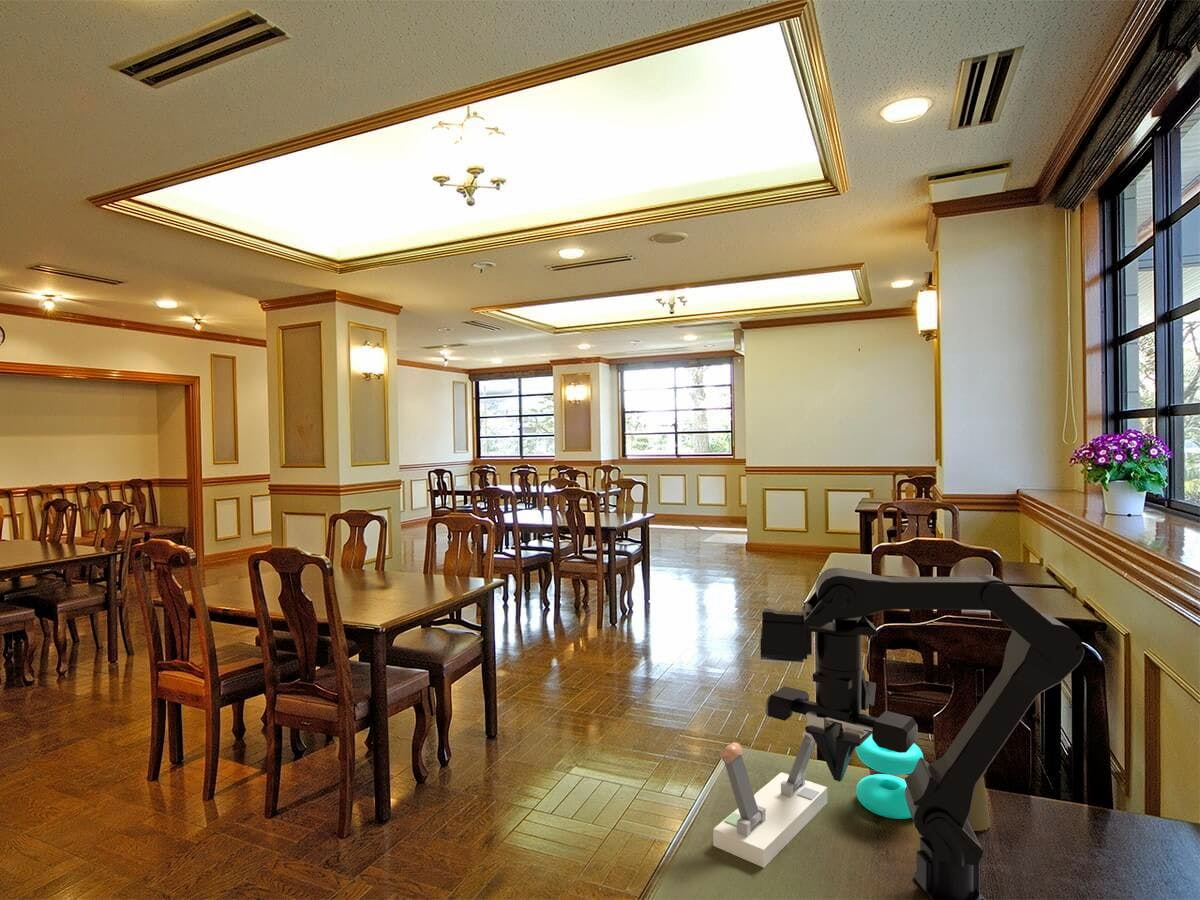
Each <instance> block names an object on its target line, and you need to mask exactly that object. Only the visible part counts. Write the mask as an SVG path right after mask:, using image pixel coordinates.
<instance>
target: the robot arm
mask: <svg viewBox="0 0 1200 900" xmlns="http://www.w3.org/2000/svg"><path fill="white" fill-rule="evenodd" d="M814 589H815V592H813V594H812V595H811V596H810V597H809V598H808V600H807V601H806V602H805V603H804V605H803V606H802V607H801V611H789V610H777V609H774V608H763V609H762V613H761V616H762V617H761V622H762V623H761V628H760V660H761V661H772V662H773V661H774V662H775V661H776V662H787V663H788V662H789V663H801V664H803V663H804V660H808V656H809V657H810V656H811V657H812V655H813V654H812V651H813V649H812V646H813V645H812V643H813V640H812V639H813V635H812V633H816V637H815V638H816V643H815V645H816V646H815V647H816V665H815V666H816V671H815V672H813V673H812V682H815V683H816V684H815V685H816V689H815V690H816V695H815V696H816V701H812V700H810V695H809V693H808V692H807V691H806V690H802V689H798V688H793V687H790V686H785V685H784V686H782V687H781V688H779V689H777V690H776V691H774V692H773V693H771V694H769V696H768V697H767V699H766V700H765V701H766V702H765V715H766V716H767V717H771V718H773V719H777V720H781V721H787V720H788V719H789V718H791V717H792V716H793V712H794V713H797V714H800V715H804V716H806V717H807V726H805V727H804V731H805V732H806V733H809V734H811V735H812V737H813V738H814V740H815V742H816V744H815V745H816V746H817V747H818V749H819V750H820V752H821V754H822V756H823V759H824V761H825V763H826V766H827V767H828V769H829V771H830V774H831V776H832V778H833V781H835V782H839V783H840V782H841V781H842V780H843V779H844V777H845V774H846V772H847V769H848V767H849V763H850V761H851V759H852V755H853V753H854V751H855V750H856V746H860V745H861V744H862V743H863V742H864V741H865V740H866V739H867V738H868V737H869V736H870V735H871V734H872V739H873V741H874V742H875V743H876V744H877V746H878V747H881V748H884V749H888V750H892V751H895V752H899V753H906V752H907V751H908V750H909V748H910V747H911V746H912V745H913V744H916V742H917V740H918V739H919V726H918V724H917V721H916V720H915V718H914V717H913V716H908V715H904V714H901V713H897V712H892V711H888V710H885V711H883V713H882V714H880V716H879V717H875V716H872V715H869V714H864V713H862V711H867V710H868V709H869V707H870V706H872V707H874V706H875V700H876V699H875V697H876V691H877V689H876V688H877V683H876V682H872V681H868V680H866V674H865V670H864V669H862V636H870V637H872V636H873V637H876V636H878V630H877V629H876V626H875V625H874V623H872V622H871V621H870V620H868V619H867V617H869V616H871V615H874V614H875V615H876V614H878V613H881V612H884V611H885V612H887V611H891V610H920V611H921V610H927V611H928V610H931V611H933V610H935V611H936V610H942V611H943V610H944V611H949V610H952V611H957V610H958V611H960V610H961V611H989V612H991V613H992V614H993V615H994V616H996V618H998V619H999V620H1000V621H1001V622H1002V623H1003V624H1004V625H1006V626H1007V627H1008V628H1009V629H1011V634H1010V635H1009V638H1008V640H1007V643H1006V647H1005V652H1004V657H1003V663H1002V667H1001V669H1000V671H999V673H998V674H997V676H996V677H995V679H994V680H993V682H992V683H991V685H990V687H988V689H987V691H986V692H985V694H984V695H983V697H982V698H981V699H980V701H979V703H978V704H977V705H976V707H975V709H974V710H973V712H972V713H971V715H970V716H969V717H968V719H967V720H966V722H965V724H964V725H963V726H962V728H961V729H960V731H959V732H958V733H957V735H956V736H955V737H954V739H953V740H952V743H950V745H949V747H948V748H947V750H946V751H945V752H944V754H943V755H942V756H941V757H940V758H938V759H936V760H934V761H933V762H931V763H929V762H928V761H927V760H926V759H924V757H923V758H920V759H919V760H918V762H917V764H916V767H915V769H914V771H913V772H912V773H910V774H908V776H906V777H904V780H905V782H906V785H907V786H906V789H905V799H906V802H907V806H908V808H909V811H910V814H911V818H912V821H913V825H914V827H915V830H916V831H917V832H918V834H919V835H920V836H921V837H920V838H919V849H917V851H916V871H915V872H913V877H914V879H915V881H916V882H917V883H918V884H919V886H921V888H922V889H923V891H924V892H925V893H926V894H927V896H928V897H929V898H930V899H931V900H987V899H986V897H984V896H983V894H982V893H981V892H980V890H981V889H980V888H981V887H980V885H981V884H980V883H981V882H980V875H981V873H980V868H981V866H980V864H981V863H980V862H981V859H982V857H983V854H984V850H983V848H982V845H981V844H980V842H979V839H978V837H977V836H976V834H975V832H974V831H973V829H972V827H971V825H970V823H969V821H968V817H969V815H970V812H971V806H972V801H973V795H974V790H975V787H976V784H977V782H978V781H979V780H980V778H981V777H982V775H983V776H984V775H985V773H986V772H987V770H988V768H989V766H990V765H991V763H992V762H993V761H994V759H995V757H996V756H997V755H998V754H999V752H1000V751H1001V749H1002V747H1004V745H1005V744H1006V742H1007V741H1008V739H1009V738H1010V736H1011V734H1012V733H1013V732H1014V730H1015V729H1016V727H1017V726H1018V724H1019V723H1020V722H1021V720H1022V719H1023V717H1024V716H1025V714H1026V713H1027V711H1028V710H1029V708H1030V707H1031V706H1032V704H1033V703H1034V701H1035V700H1036V698H1037V697H1038V696H1039V695H1040V694H1042V693H1043V692H1045V691H1047V690H1048V689H1051V688H1052V687H1054V686H1056V685H1058V684H1060V683H1062V682H1063V681H1064V679H1067V678H1066V677H1068V676H1069V675H1070V674H1071V673H1072V672H1073V671H1074V670H1075V669H1076V668H1077V667H1078V666H1079V665H1080V664H1081V662H1082V661H1083V658H1084V656H1085V653H1086V652H1085V650H1086V649H1085V648H1084V644H1083V640H1082V639H1081V637H1080V636H1079V634H1078V633H1077V632H1076V631H1074V630H1073V629H1072V628H1070V627H1069V626H1068V625H1065V624H1064V623H1063V622H1061V621H1060V620H1058V619H1056V618H1055V617H1054V616H1052V615H1049V614H1047V613H1045V612H1044V613H1043V612H1039V611H1037V610H1036V609H1035V608H1034V607H1033V606H1031V605H1030V604H1029V603H1028V602H1027V601H1025V600H1024V599H1023V598H1022V597H1021V596H1019V595H1018V594H1017V593H1015V591H1013V589H1012V587H1011V586H1010V585H1009V584H1008V583H1006V582H1005V581H1003V580H1001V579H1000V578H999V577H996V576H994V575H990V574H983V575H979V576H883V575H877V574H875V573H874V574H873V573H870V572H866V571H862V570H856V569H850V568H848V569H847V568H843V567H831V568H827V569H825V570H824V571H823V572H822V573H821V574H820V575H819V576H818V578H817V580H816V582H815V588H814ZM841 727H842V731H841ZM840 732H841V733H840ZM986 769H987V770H986ZM985 771H986V772H985ZM984 772H985V773H984Z"/></svg>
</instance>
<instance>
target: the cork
mask: <svg viewBox="0 0 1200 900" xmlns="http://www.w3.org/2000/svg"><path fill="white" fill-rule="evenodd" d="M987 770H988V768H987V769H986V771H985V772H984V774H986V773H987ZM984 774H983V775H982V777H981V778H980V780H979V781H978V782H977V784H976V787H975V790H974V795H973V801H972V806H971V812H970V815H969V817H968V821H969V823H970V825H971V827H972V829H973V830H974V831H976V830H977V831H982V830H986V831H988V830H989V829H990V828H991V826H990V825H991V819H990V813H989V805H988V799H987V791H986V784H985V777H984ZM989 827H990V828H989ZM988 828H989V829H988ZM987 829H988V830H987ZM982 832H983V831H982Z"/></svg>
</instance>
